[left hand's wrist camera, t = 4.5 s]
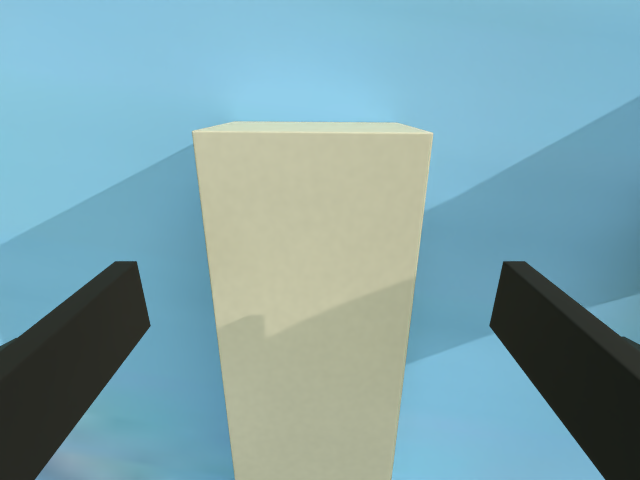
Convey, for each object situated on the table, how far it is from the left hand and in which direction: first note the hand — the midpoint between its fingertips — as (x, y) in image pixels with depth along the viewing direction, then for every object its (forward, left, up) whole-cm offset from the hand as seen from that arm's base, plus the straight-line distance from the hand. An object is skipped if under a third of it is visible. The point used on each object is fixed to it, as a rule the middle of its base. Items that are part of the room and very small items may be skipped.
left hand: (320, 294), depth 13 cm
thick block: (+27, 0, -11) cm, 29 cm away
